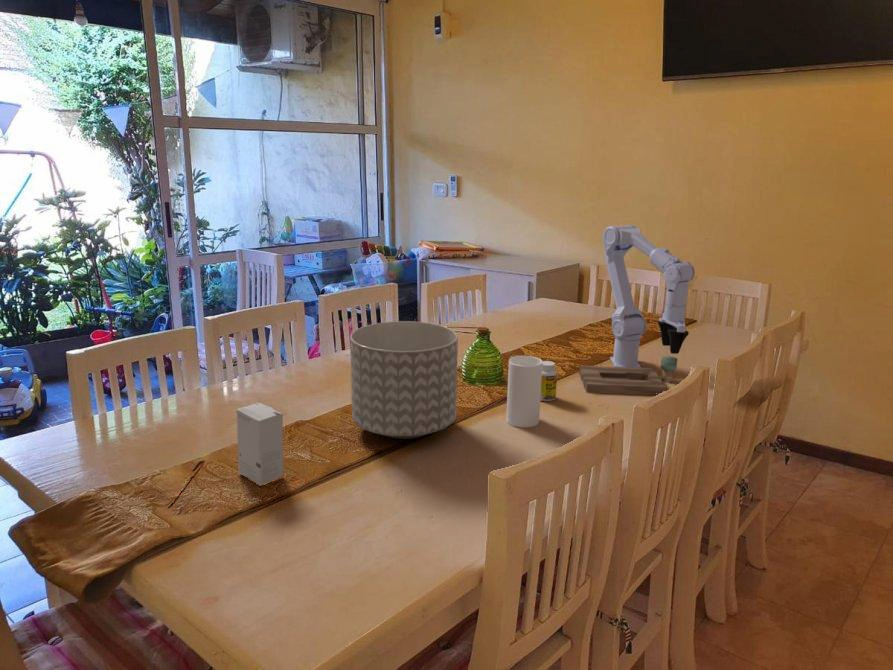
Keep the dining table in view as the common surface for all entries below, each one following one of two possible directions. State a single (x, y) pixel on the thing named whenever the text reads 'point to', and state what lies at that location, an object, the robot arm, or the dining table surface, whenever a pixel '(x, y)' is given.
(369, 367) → the planter
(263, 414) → the skincare box
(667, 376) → the peg
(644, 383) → the keyhole board
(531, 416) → the cup
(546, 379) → the supplement bottle
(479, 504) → the dining table surface
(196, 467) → the pen
